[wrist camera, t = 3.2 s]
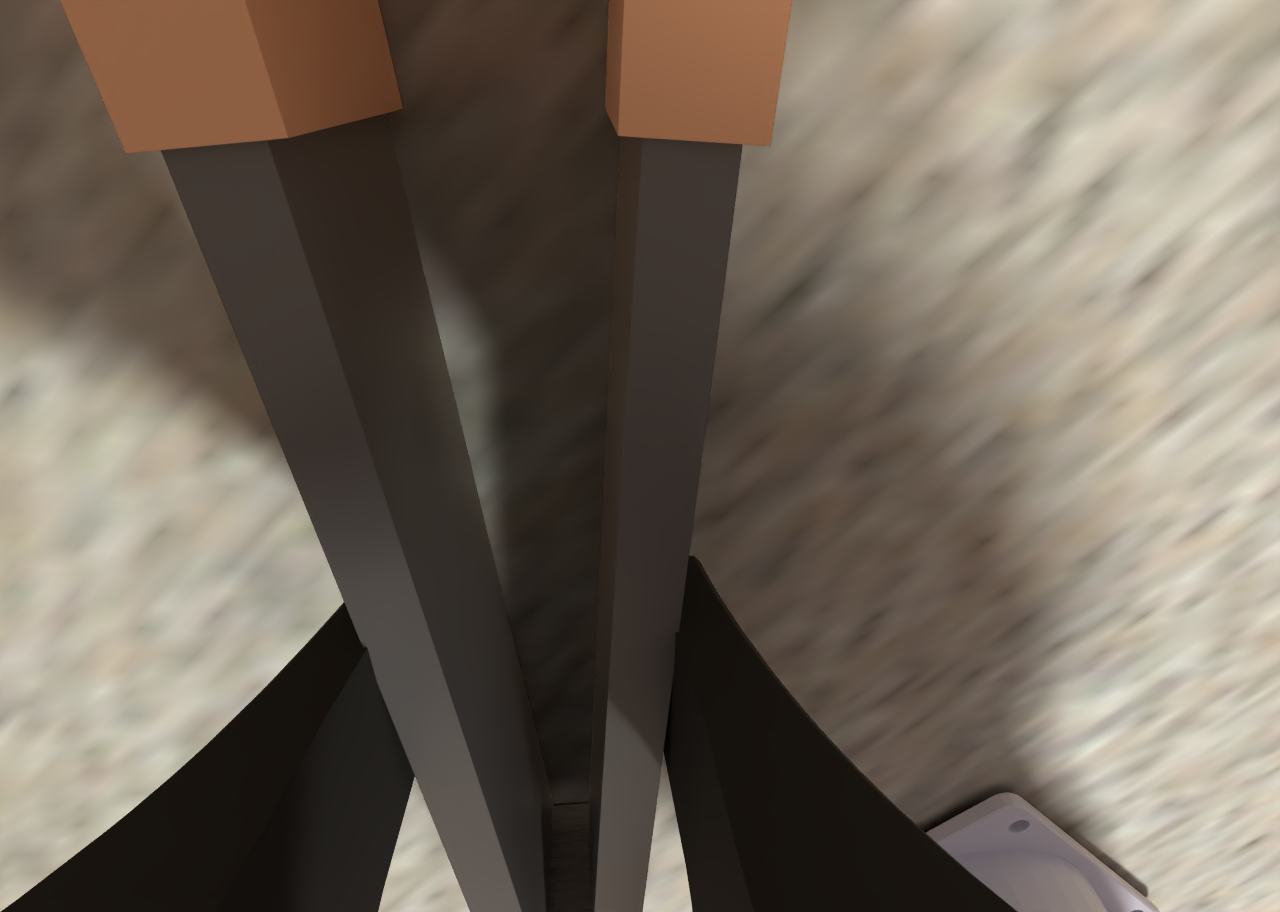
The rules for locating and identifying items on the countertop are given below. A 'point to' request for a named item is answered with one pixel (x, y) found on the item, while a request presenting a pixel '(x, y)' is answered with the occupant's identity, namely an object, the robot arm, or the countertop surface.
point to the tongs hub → (570, 859)
